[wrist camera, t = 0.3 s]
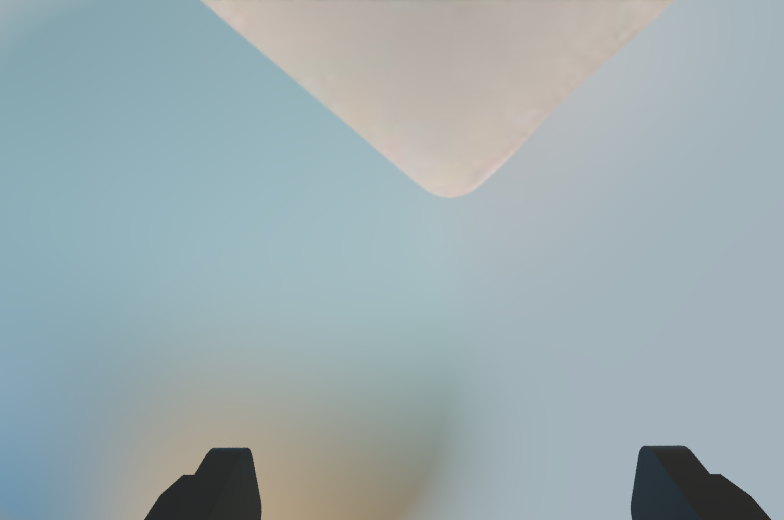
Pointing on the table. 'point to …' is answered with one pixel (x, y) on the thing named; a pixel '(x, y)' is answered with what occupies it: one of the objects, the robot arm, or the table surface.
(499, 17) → the table surface
